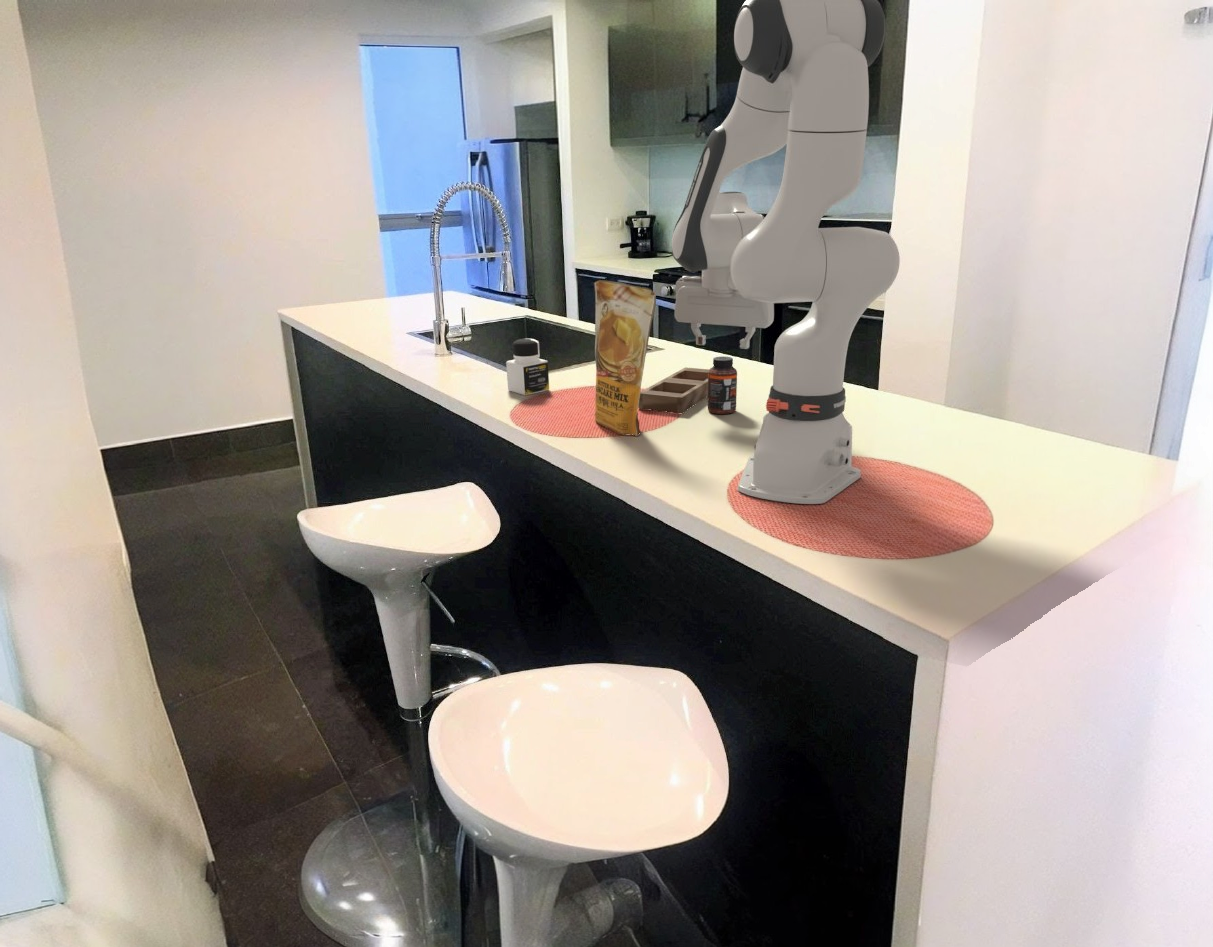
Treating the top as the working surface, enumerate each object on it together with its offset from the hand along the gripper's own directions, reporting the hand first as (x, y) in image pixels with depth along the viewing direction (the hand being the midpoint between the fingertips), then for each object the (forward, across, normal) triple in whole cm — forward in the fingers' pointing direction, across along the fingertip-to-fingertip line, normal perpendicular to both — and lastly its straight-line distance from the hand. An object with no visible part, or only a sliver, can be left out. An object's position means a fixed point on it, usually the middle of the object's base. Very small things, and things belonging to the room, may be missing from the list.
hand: (722, 346), depth 170 cm
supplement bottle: (+14, 0, -1) cm, 14 cm away
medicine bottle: (+14, -48, -1) cm, 50 cm away
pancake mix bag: (+14, -14, -18) cm, 27 cm away
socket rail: (+14, -12, +7) cm, 19 cm away
